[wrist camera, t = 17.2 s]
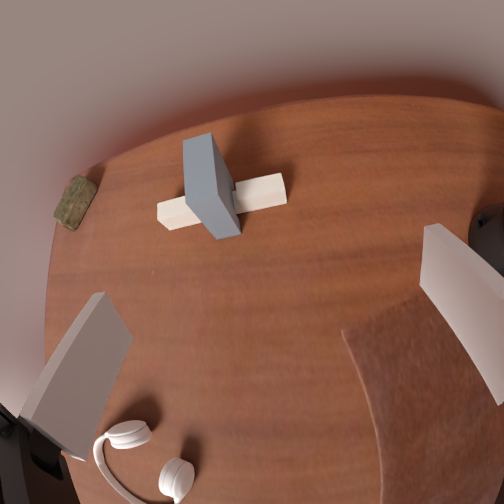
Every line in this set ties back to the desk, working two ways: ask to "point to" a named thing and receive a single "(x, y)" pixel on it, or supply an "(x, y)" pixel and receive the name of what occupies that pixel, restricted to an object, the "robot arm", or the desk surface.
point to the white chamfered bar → (245, 199)
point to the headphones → (136, 433)
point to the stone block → (75, 202)
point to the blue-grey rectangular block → (209, 186)
